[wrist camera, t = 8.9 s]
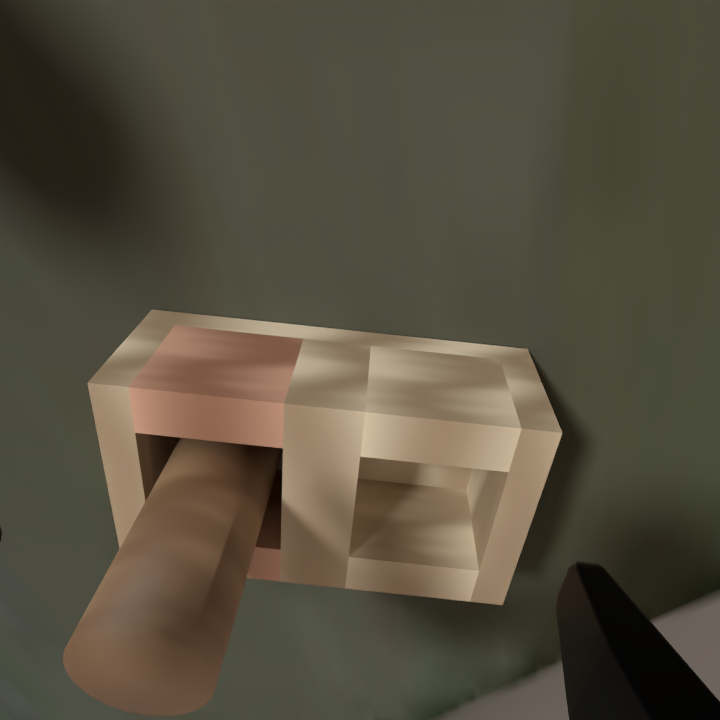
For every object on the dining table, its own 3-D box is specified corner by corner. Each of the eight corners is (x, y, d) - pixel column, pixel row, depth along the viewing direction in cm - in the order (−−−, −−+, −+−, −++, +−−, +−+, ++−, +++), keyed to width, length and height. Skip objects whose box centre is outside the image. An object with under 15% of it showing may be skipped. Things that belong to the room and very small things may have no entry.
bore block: (527, 349, 21) (562, 432, 16) (484, 504, 25) (502, 605, 20) (151, 309, 21) (87, 382, 16) (170, 471, 25) (123, 564, 20)
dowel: (289, 388, 21) (211, 636, 12) (287, 462, 23) (218, 723, 14) (194, 378, 21) (49, 618, 12) (200, 452, 23) (77, 707, 14)
